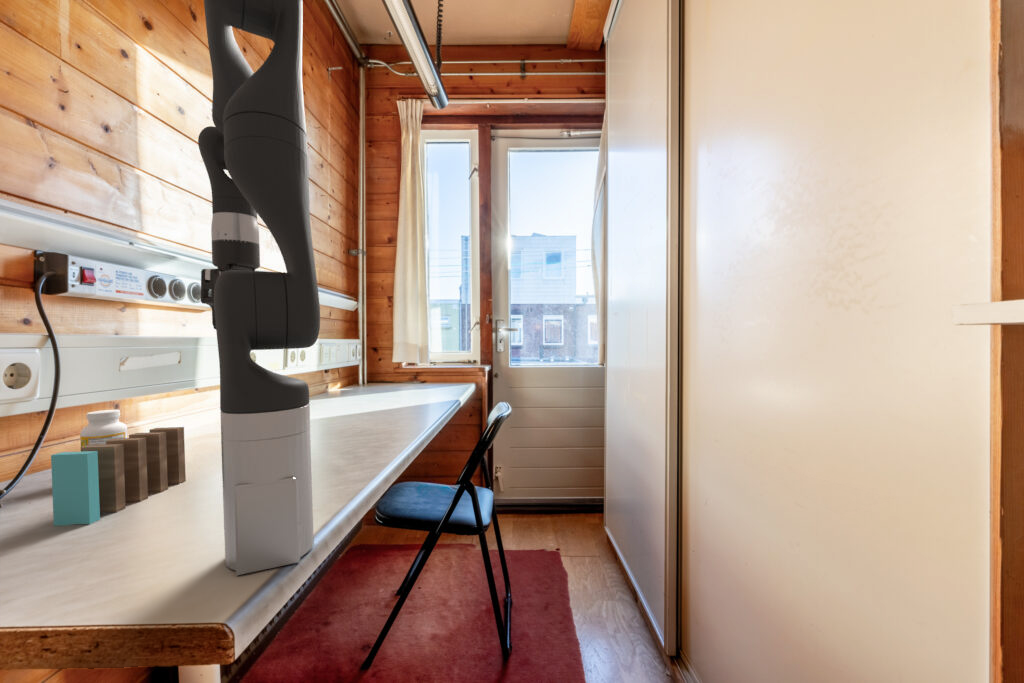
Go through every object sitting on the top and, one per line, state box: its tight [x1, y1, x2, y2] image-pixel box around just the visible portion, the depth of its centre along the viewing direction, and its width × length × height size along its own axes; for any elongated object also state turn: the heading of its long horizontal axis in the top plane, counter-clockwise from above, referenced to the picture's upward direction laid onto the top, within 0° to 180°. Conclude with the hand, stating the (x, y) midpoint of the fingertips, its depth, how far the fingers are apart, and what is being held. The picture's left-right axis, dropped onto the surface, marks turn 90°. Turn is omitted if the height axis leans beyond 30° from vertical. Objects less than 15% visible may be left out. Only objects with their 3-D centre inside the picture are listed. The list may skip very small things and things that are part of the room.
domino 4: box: [128, 432, 169, 494], centre depth 77 cm, size 2×5×10 cm, turn 91°
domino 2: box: [80, 444, 126, 514], centre depth 68 cm, size 2×5×10 cm, turn 91°
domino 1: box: [50, 451, 101, 527], centre depth 64 cm, size 2×5×10 cm, turn 91°
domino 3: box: [106, 437, 149, 503], centre depth 72 cm, size 2×5×10 cm, turn 91°
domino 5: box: [148, 426, 187, 485], centre depth 81 cm, size 2×5×10 cm, turn 91°
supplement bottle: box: [79, 409, 128, 448], centre depth 85 cm, size 7×7×13 cm
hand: (238, 329), depth 83 cm, fingers open, 8 cm apart
